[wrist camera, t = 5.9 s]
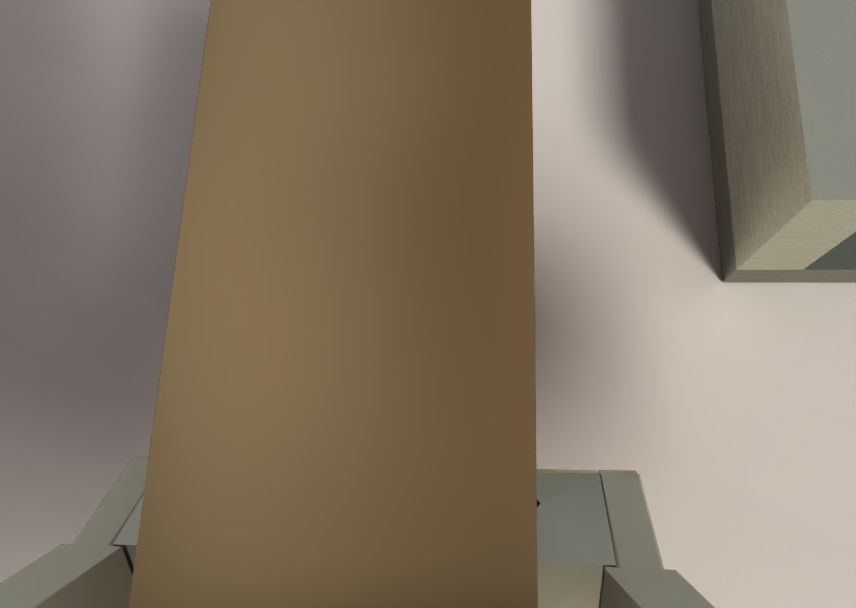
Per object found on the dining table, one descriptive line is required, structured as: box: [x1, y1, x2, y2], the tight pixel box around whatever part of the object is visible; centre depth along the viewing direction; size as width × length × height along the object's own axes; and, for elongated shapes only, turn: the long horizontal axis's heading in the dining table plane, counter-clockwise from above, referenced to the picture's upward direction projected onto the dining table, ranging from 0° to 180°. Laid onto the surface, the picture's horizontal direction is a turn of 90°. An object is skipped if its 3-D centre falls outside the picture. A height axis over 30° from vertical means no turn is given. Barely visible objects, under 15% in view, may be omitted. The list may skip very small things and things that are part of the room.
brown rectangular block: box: [128, 0, 538, 608], centre depth 12 cm, size 4×10×10 cm, turn 178°
